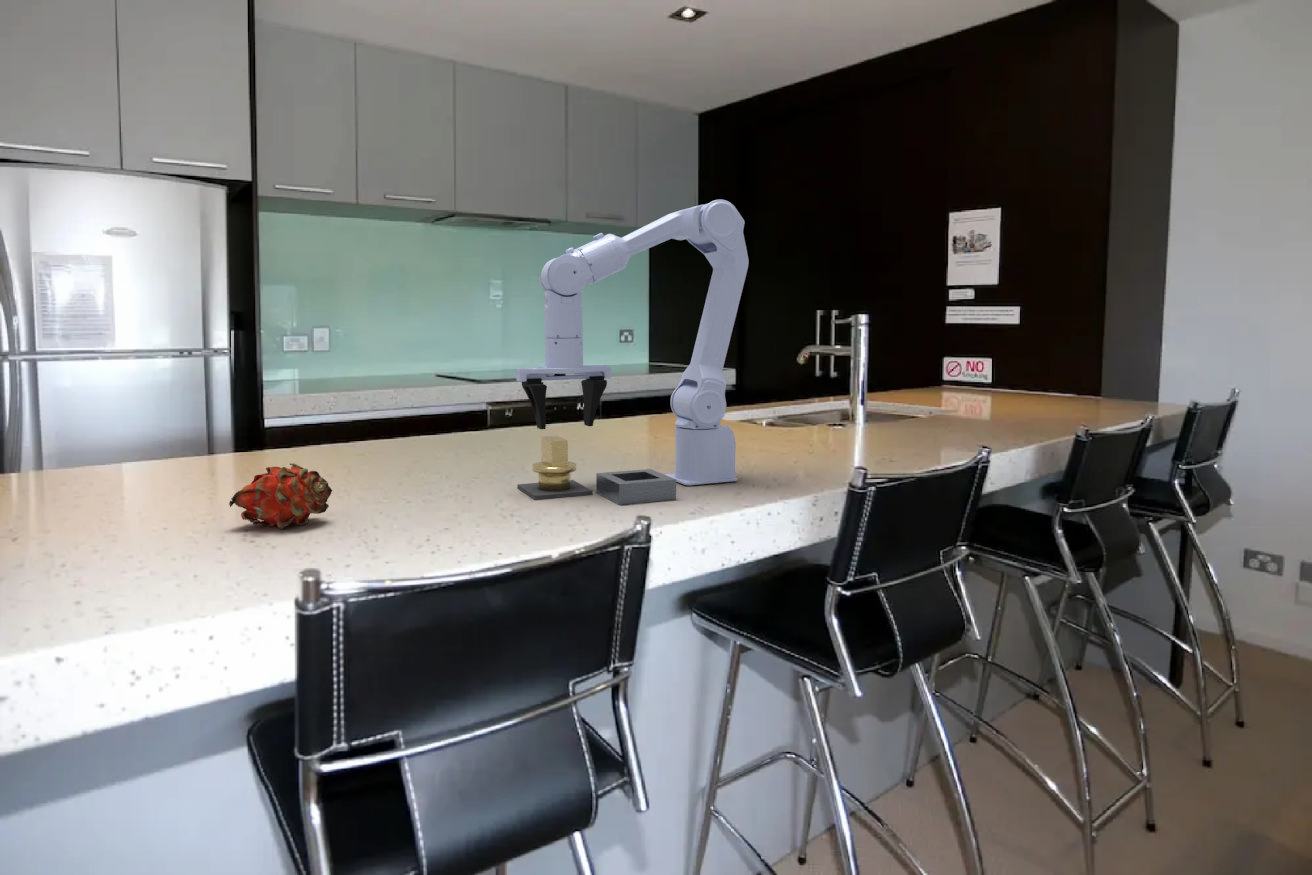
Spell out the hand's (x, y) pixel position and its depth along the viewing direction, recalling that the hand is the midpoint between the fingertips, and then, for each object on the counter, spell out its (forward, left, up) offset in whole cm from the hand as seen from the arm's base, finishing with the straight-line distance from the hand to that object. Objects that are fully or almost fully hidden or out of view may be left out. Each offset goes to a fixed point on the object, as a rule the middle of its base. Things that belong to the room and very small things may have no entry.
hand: (565, 427), depth 129 cm
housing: (-8, +9, -10) cm, 15 cm away
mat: (+2, +1, -10) cm, 10 cm away
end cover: (+2, +2, -9) cm, 10 cm away
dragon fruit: (+40, +7, -10) cm, 42 cm away
